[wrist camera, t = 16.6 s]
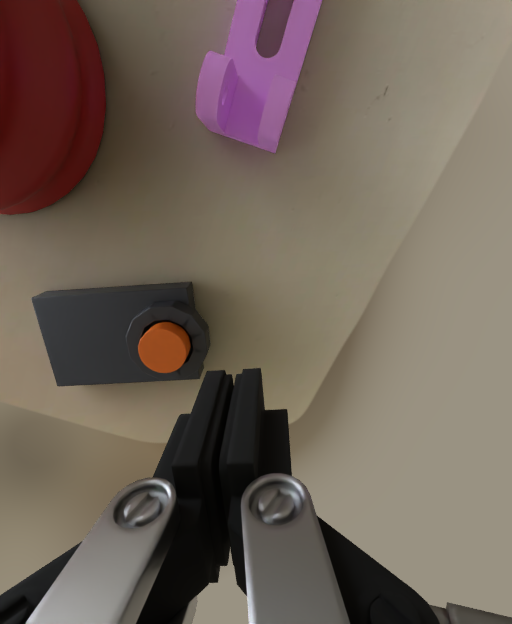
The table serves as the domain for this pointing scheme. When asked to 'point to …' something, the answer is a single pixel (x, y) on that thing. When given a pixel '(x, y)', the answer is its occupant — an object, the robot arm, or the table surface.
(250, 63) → the bracket
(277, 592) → the robot arm
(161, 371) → the button
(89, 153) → the table lamp
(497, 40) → the table surface
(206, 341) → the control block
